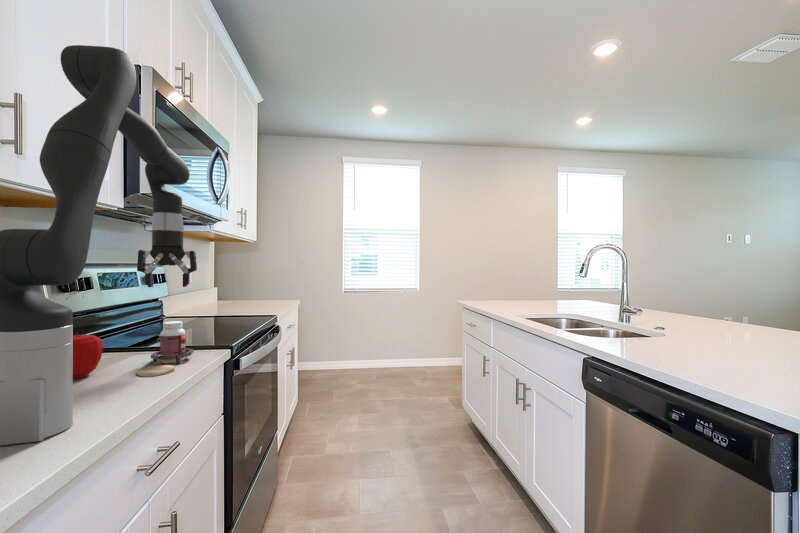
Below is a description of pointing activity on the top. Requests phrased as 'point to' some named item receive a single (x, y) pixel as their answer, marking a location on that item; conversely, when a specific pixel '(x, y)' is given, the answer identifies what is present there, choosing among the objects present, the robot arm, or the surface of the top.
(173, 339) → the pill bottle
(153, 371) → the cork coaster
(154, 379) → the top surface
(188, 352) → the ring stand
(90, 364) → the apple
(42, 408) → the robot arm
